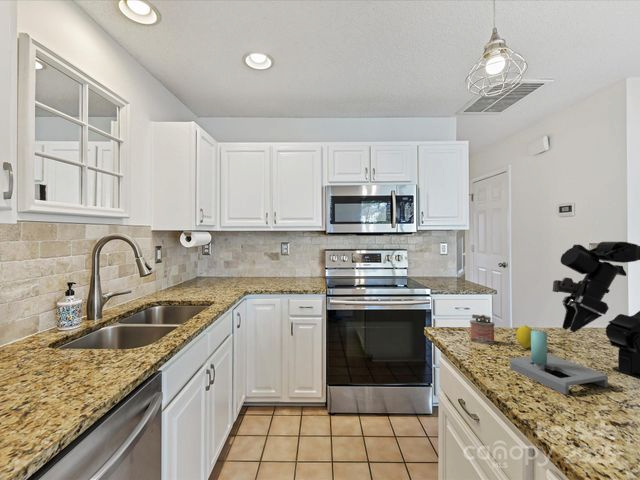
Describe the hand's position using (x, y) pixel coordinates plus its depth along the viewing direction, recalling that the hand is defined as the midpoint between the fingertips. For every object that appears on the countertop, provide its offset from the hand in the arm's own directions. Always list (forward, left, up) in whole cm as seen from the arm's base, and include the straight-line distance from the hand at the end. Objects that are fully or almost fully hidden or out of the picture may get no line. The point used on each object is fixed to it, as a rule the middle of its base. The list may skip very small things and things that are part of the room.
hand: (567, 329), depth 89 cm
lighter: (+4, -28, -12) cm, 31 cm away
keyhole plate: (+7, +2, -12) cm, 14 cm away
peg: (+10, -1, -12) cm, 15 cm away
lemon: (-5, -18, -12) cm, 23 cm away
